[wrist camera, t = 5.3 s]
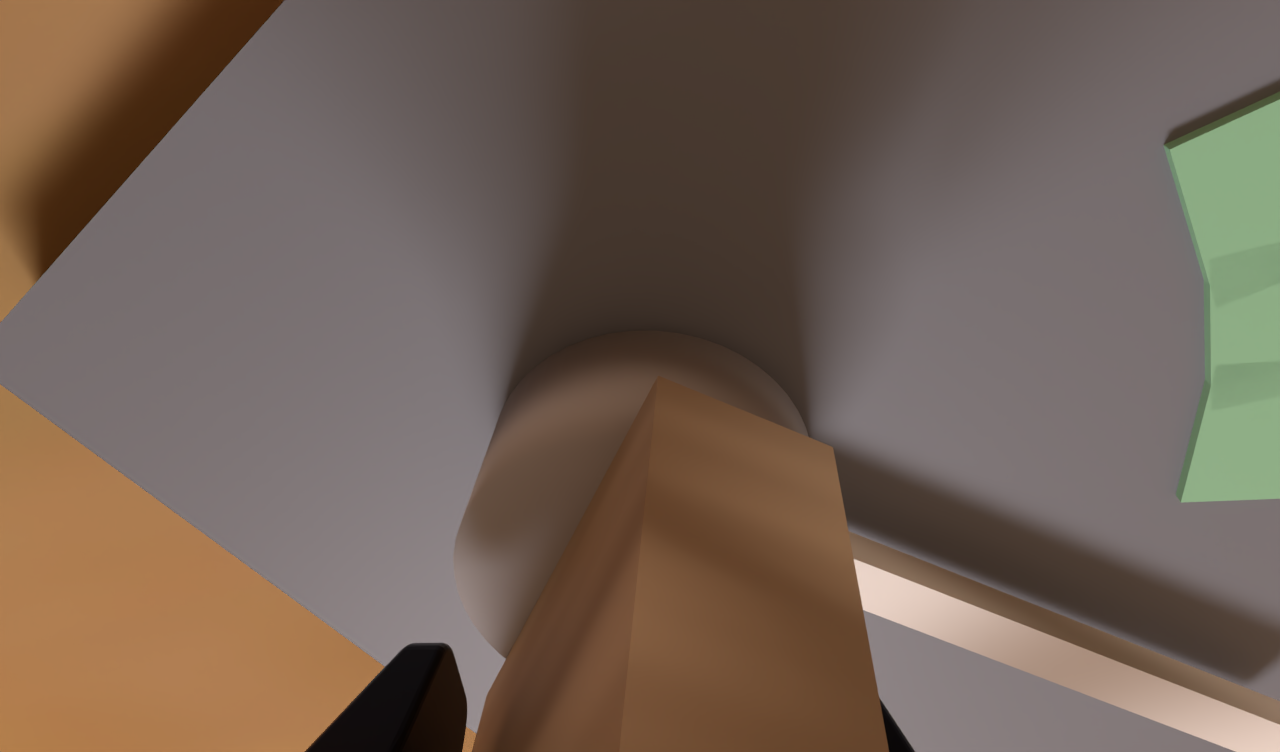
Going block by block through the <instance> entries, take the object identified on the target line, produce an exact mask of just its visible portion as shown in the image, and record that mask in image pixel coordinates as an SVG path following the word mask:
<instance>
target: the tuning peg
mask: <svg viewBox="0 0 1280 752" xmlns="http://www.w3.org/2000/svg"><path fill="white" fill-rule="evenodd" d="M453 563H454V577H455V581H456V586H457V591H458V593H459V596H460V599H461V601H462V604H463V606H464V609H465V610H466V612H467V614H468V616H469V617H470V619H471V621H472V623H473V624H474V626H475V627H476V628H477V630H478V631H479V632H480V633H481V635H482V636H483V637H484V639H485V640H486V641H487V642H488V643H489V644H490V645H491V646H492V647H493V648H494V649H495V650H496V651H497V652H498V653H499V654H500V655H502V656H503V657H504V658H505V659H506V660H505V662H504V664H503V666H502V668H501V670H500V671H499V673H498V675H497V677H496V679H495V681H494V683H493V684H492V686H491V688H490V690H489V692H488V694H487V696H486V700H485V704H484V707H483V711H482V715H481V719H480V723H479V727H478V730H477V734H476V738H475V742H474V746H473V750H472V752H889V748H888V743H887V737H886V732H885V726H884V721H883V715H882V710H881V705H880V699H879V694H878V688H877V683H876V678H875V672H874V667H873V661H872V656H871V650H870V645H869V640H868V634H867V629H866V623H865V618H864V613H863V610H865V611H867V612H870V613H872V614H875V615H878V616H880V617H883V618H886V619H888V620H891V621H893V622H896V623H899V624H901V625H904V626H907V627H909V628H912V629H915V630H917V631H920V632H922V633H925V634H928V635H930V636H933V637H936V638H938V639H941V640H943V641H946V642H949V643H951V644H954V645H957V646H959V647H962V648H964V649H967V650H970V651H972V652H975V653H978V654H980V655H983V656H986V657H988V658H991V659H993V660H996V661H999V662H1001V663H1004V664H1007V665H1009V666H1012V667H1014V668H1017V669H1020V670H1022V671H1025V672H1028V673H1030V674H1033V675H1036V676H1038V677H1041V678H1043V679H1046V680H1049V681H1051V682H1054V683H1057V684H1059V685H1062V686H1064V687H1067V688H1070V689H1072V690H1075V691H1078V692H1080V693H1083V694H1086V695H1088V696H1091V697H1093V698H1096V699H1099V700H1101V701H1104V702H1107V703H1109V704H1112V705H1114V706H1117V707H1120V708H1122V709H1125V710H1128V711H1130V712H1133V713H1135V714H1138V715H1141V716H1143V717H1146V718H1149V719H1151V720H1154V721H1157V722H1159V723H1162V724H1164V725H1167V726H1170V727H1172V728H1175V729H1178V730H1180V731H1183V732H1185V733H1188V734H1191V735H1193V736H1196V737H1199V738H1201V739H1204V740H1207V741H1209V742H1212V743H1214V744H1217V745H1220V746H1222V747H1225V748H1228V749H1230V750H1233V751H1235V752H1280V701H1278V700H1275V699H1273V698H1270V697H1268V696H1265V695H1263V694H1260V693H1258V692H1255V691H1253V690H1250V689H1248V688H1245V687H1243V686H1240V685H1237V684H1235V683H1232V682H1230V681H1227V680H1225V679H1222V678H1220V677H1217V676H1215V675H1212V674H1210V673H1207V672H1205V671H1202V670H1199V669H1197V668H1194V667H1192V666H1189V665H1187V664H1184V663H1182V662H1179V661H1177V660H1174V659H1172V658H1169V657H1167V656H1164V655H1161V654H1159V653H1156V652H1154V651H1151V650H1149V649H1146V648H1144V647H1141V646H1139V645H1136V644H1134V643H1131V642H1129V641H1126V640H1123V639H1121V638H1118V637H1116V636H1113V635H1111V634H1108V633H1106V632H1103V631H1101V630H1098V629H1096V628H1093V627H1091V626H1088V625H1085V624H1083V623H1080V622H1078V621H1075V620H1073V619H1070V618H1068V617H1065V616H1063V615H1060V614H1058V613H1055V612H1053V611H1050V610H1047V609H1045V608H1042V607H1040V606H1037V605H1035V604H1032V603H1030V602H1027V601H1025V600H1022V599H1020V598H1017V597H1014V596H1012V595H1009V594H1007V593H1004V592H1002V591H999V590H997V589H994V588H992V587H989V586H987V585H984V584H982V583H979V582H976V581H974V580H971V579H969V578H966V577H964V576H961V575H959V574H956V573H954V572H951V571H949V570H946V569H944V568H941V567H938V566H936V565H933V564H931V563H928V562H926V561H923V560H921V559H918V558H916V557H913V556H911V555H908V554H906V553H903V552H900V551H898V550H895V549H893V548H890V547H888V546H885V545H883V544H880V543H878V542H875V541H873V540H870V539H868V538H865V537H862V536H860V535H857V534H855V533H852V532H850V531H848V526H847V520H846V515H845V510H844V504H843V499H842V493H841V488H840V483H839V477H838V472H837V466H836V461H835V455H834V450H833V447H831V446H829V445H827V444H824V443H822V442H819V441H817V440H814V439H812V438H809V437H808V433H807V429H806V427H805V424H804V422H803V420H802V418H801V416H800V413H799V411H798V410H797V408H796V407H795V405H794V404H793V402H792V401H791V399H790V397H789V396H788V395H787V394H786V392H785V391H784V390H783V389H782V388H781V387H780V386H779V385H778V383H777V382H776V381H775V380H774V379H773V378H771V377H770V376H769V375H768V374H767V373H766V372H764V371H763V370H762V369H761V368H760V367H758V366H757V365H755V364H754V363H752V362H751V361H749V360H748V359H746V358H745V357H743V356H742V355H740V354H738V353H736V352H734V351H732V350H730V349H728V348H726V347H723V346H721V345H719V344H716V343H713V342H710V341H707V340H704V339H701V338H698V337H693V336H689V335H684V334H680V333H673V332H664V331H626V332H618V333H610V334H606V335H601V336H597V337H593V338H589V339H586V340H584V341H581V342H578V343H576V344H573V345H571V346H568V347H566V348H564V349H562V350H561V351H559V352H557V353H555V354H553V355H551V356H550V357H548V358H547V359H545V360H544V361H543V362H541V363H540V364H539V365H537V366H536V367H534V368H533V369H532V370H531V371H530V372H529V373H528V374H527V375H526V376H525V377H524V378H523V379H522V380H521V381H520V382H519V384H518V385H517V386H516V388H515V389H514V390H513V392H512V393H511V394H510V396H509V397H508V399H507V401H506V403H505V405H504V407H503V409H502V411H501V413H500V416H499V418H498V421H497V424H496V427H495V430H494V432H493V435H492V438H491V441H490V443H489V446H488V449H487V452H486V454H485V457H484V460H483V463H482V466H481V468H480V471H479V474H478V477H477V479H476V482H475V485H474V488H473V490H472V493H471V496H470V499H469V502H468V504H467V507H466V510H465V513H464V515H463V518H462V521H461V524H460V527H459V530H458V533H457V536H456V540H455V547H454V554H453Z"/></svg>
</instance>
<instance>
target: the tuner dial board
mask: <svg viewBox="0 0 1280 752" xmlns="http://www.w3.org/2000/svg"><path fill="white" fill-rule="evenodd" d="M626 331H664V332H673V333H680V334H684V335H689V336H693V337H698V338H701V339H704V340H707V341H710V342H713V343H716V344H719V345H721V346H723V347H726V348H728V349H730V350H732V351H734V352H736V353H738V354H740V355H742V356H743V357H745V358H746V359H748V360H749V361H751V362H752V363H754V364H755V365H757V366H758V367H760V368H761V369H762V370H763V371H764V372H766V373H767V374H768V375H769V376H770V377H771V378H773V379H774V380H775V381H776V382H777V383H778V385H779V386H780V387H781V388H782V389H783V390H784V391H785V392H786V394H787V395H788V396H789V397H790V399H791V401H792V402H793V404H794V405H795V407H796V408H797V410H798V411H799V413H800V416H801V418H802V420H803V422H804V424H805V427H806V429H807V433H808V437H809V438H812V439H814V440H817V441H819V442H822V443H824V444H827V445H829V446H831V447H833V450H834V455H835V461H836V466H837V472H838V477H839V483H840V488H841V493H842V499H843V504H844V510H845V515H846V520H847V526H848V531H850V532H852V533H855V534H857V535H860V536H862V537H865V538H868V539H870V540H873V541H875V542H878V543H880V544H883V545H885V546H888V547H890V548H893V549H895V550H898V551H900V552H903V553H906V554H908V555H911V556H913V557H916V558H918V559H921V560H923V561H926V562H928V563H931V564H933V565H936V566H938V567H941V568H944V569H946V570H949V571H951V572H954V573H956V574H959V575H961V576H964V577H966V578H969V579H971V580H974V581H976V582H979V583H982V584H984V585H987V586H989V587H992V588H994V589H997V590H999V591H1002V592H1004V593H1007V594H1009V595H1012V596H1014V597H1017V598H1020V599H1022V600H1025V601H1027V602H1030V603H1032V604H1035V605H1037V606H1040V607H1042V608H1045V609H1047V610H1050V611H1053V612H1055V613H1058V614H1060V615H1063V616H1065V617H1068V618H1070V619H1073V620H1075V621H1078V622H1080V623H1083V624H1085V625H1088V626H1091V627H1093V628H1096V629H1098V630H1101V631H1103V632H1106V633H1108V634H1111V635H1113V636H1116V637H1118V638H1121V639H1123V640H1126V641H1129V642H1131V643H1134V644H1136V645H1139V646H1141V647H1144V648H1146V649H1149V650H1151V651H1154V652H1156V653H1159V654H1161V655H1164V656H1167V657H1169V658H1172V659H1174V660H1177V661H1179V662H1182V663H1184V664H1187V665H1189V666H1192V667H1194V668H1197V669H1199V670H1202V671H1205V672H1207V673H1210V674H1212V675H1215V676H1217V677H1220V678H1222V679H1225V680H1227V681H1230V682H1232V683H1235V684H1237V685H1240V686H1243V687H1245V688H1248V689H1250V690H1253V691H1255V692H1258V693H1260V694H1263V695H1265V696H1268V697H1270V698H1273V699H1275V700H1278V701H1280V0H284V1H283V3H282V4H281V5H280V6H279V7H278V8H277V9H276V11H275V12H274V13H273V14H272V15H271V16H270V17H269V19H268V20H267V21H266V22H265V23H264V24H263V25H262V26H261V28H260V29H259V30H258V31H257V32H256V33H255V34H254V36H253V37H252V38H251V39H250V40H249V41H248V42H247V43H246V45H245V46H244V47H243V48H242V49H241V50H240V51H239V53H238V54H237V55H236V56H235V57H234V58H233V59H232V61H231V62H230V63H229V64H228V65H227V66H226V67H225V68H224V70H223V71H222V72H221V73H220V74H219V75H218V76H217V78H216V79H215V80H214V81H213V82H212V83H211V84H210V86H209V87H208V88H207V89H206V90H205V91H204V92H203V93H202V95H201V96H200V97H199V98H198V99H197V100H196V101H195V103H194V104H193V105H192V106H191V107H190V108H189V109H188V111H187V112H186V113H185V114H184V115H183V116H182V117H181V118H180V120H179V121H178V122H177V123H176V124H175V125H174V126H173V128H172V129H171V130H170V131H169V132H168V133H167V134H166V135H165V137H164V138H163V139H162V140H161V141H160V142H159V143H158V145H157V146H156V147H155V148H154V149H153V150H152V151H151V153H150V154H149V155H148V156H147V157H146V158H145V159H144V160H143V162H142V163H141V164H140V165H139V166H138V167H137V168H136V170H135V171H134V172H133V173H132V174H131V175H130V176H129V178H128V179H127V180H126V181H125V182H124V183H123V184H122V185H121V187H120V188H119V189H118V190H117V191H116V192H115V193H114V195H113V196H112V197H111V198H110V199H109V200H108V201H107V202H106V204H105V205H104V206H103V207H102V208H101V209H100V210H99V212H98V213H97V214H96V215H95V216H94V217H93V218H92V220H91V221H90V222H89V223H88V224H87V225H86V226H85V227H84V229H83V230H82V231H81V232H80V233H79V234H78V235H77V237H76V238H75V239H74V240H73V241H72V242H71V243H70V245H69V246H68V247H67V248H66V249H65V250H64V251H63V252H62V254H61V255H60V256H59V257H58V258H57V259H56V260H55V262H54V263H53V264H52V265H51V266H50V267H49V268H48V270H47V271H46V272H45V273H44V274H43V275H42V276H41V277H40V279H39V280H38V281H37V282H36V283H35V284H34V285H33V287H32V288H31V289H30V290H29V291H28V292H27V293H26V294H25V296H24V297H23V298H22V299H21V300H20V301H19V302H18V304H17V305H16V306H15V307H14V308H13V309H12V310H11V312H10V313H9V314H8V315H7V316H6V317H5V318H4V319H3V321H2V322H1V323H0V384H1V385H2V386H3V387H5V388H6V389H8V390H9V391H10V392H12V393H13V394H14V395H16V396H17V397H18V398H20V399H21V400H23V401H24V402H25V403H27V404H28V405H29V406H31V407H32V408H33V409H35V410H36V411H38V412H39V413H40V414H42V415H43V416H44V417H46V418H47V419H48V420H50V421H51V422H52V423H54V424H55V425H57V426H58V427H59V428H61V429H62V430H63V431H65V432H66V433H67V434H69V435H70V436H72V437H73V438H74V439H76V440H77V441H78V442H80V443H81V444H82V445H84V446H85V447H87V448H88V449H89V450H91V451H92V452H93V453H95V454H96V455H97V456H99V457H100V458H102V459H103V460H104V461H106V462H107V463H108V464H110V465H111V466H112V467H114V468H115V469H117V470H118V471H119V472H121V473H122V474H123V475H125V476H126V477H127V478H129V479H130V480H132V481H133V482H134V483H136V484H137V485H138V486H140V487H141V488H142V489H144V490H145V491H146V492H148V493H149V494H151V495H152V496H153V497H155V498H156V499H157V500H159V501H160V502H161V503H163V504H164V505H166V506H167V507H168V508H170V509H171V510H172V511H174V512H175V513H176V514H178V515H179V516H181V517H182V518H183V519H185V520H186V521H187V522H189V523H190V524H191V525H193V526H194V527H196V528H197V529H198V530H200V531H201V532H202V533H204V534H205V535H206V536H208V537H209V538H211V539H212V540H213V541H215V542H216V543H217V544H219V545H220V546H221V547H223V548H224V549H225V550H227V551H228V552H230V553H231V554H232V555H234V556H235V557H236V558H238V559H239V560H240V561H242V562H243V563H245V564H246V565H247V566H249V567H250V568H251V569H253V570H254V571H255V572H257V573H258V574H260V575H261V576H262V577H264V578H265V579H266V580H268V581H269V582H270V583H272V584H273V585H275V586H276V587H277V588H279V589H280V590H281V591H283V592H284V593H285V594H287V595H288V596H290V597H291V598H292V599H294V600H295V601H296V602H298V603H299V604H300V605H302V606H303V607H304V608H306V609H307V610H309V611H310V612H311V613H313V614H314V615H315V616H317V617H318V618H319V619H321V620H322V621H324V622H325V623H326V624H328V625H329V626H330V627H332V628H333V629H334V630H336V631H337V632H339V633H340V634H341V635H343V636H344V637H345V638H347V639H348V640H349V641H351V642H352V643H354V644H355V645H356V646H358V647H359V648H360V649H362V650H363V651H364V652H366V653H367V654H369V655H370V656H371V657H373V658H374V659H375V660H377V661H378V662H379V663H381V664H382V665H383V666H386V665H387V664H388V663H389V662H390V661H391V660H392V659H393V658H394V657H395V656H396V655H397V654H398V653H399V652H400V651H401V650H402V649H403V648H404V647H406V646H407V645H409V644H411V643H446V644H448V645H449V646H450V647H451V648H452V651H453V653H454V656H455V659H456V663H457V666H458V670H459V673H460V677H461V680H462V684H463V687H464V691H465V694H466V698H467V722H466V726H467V727H468V728H469V729H471V730H472V731H473V732H475V733H476V734H477V730H478V727H479V723H480V719H481V715H482V711H483V707H484V704H485V700H486V696H487V694H488V692H489V690H490V688H491V686H492V684H493V683H494V681H495V679H496V677H497V675H498V673H499V671H500V670H501V668H502V666H503V664H504V662H505V660H506V659H505V658H504V657H503V656H502V655H500V654H499V653H498V652H497V651H496V650H495V649H494V648H493V647H492V646H491V645H490V644H489V643H488V642H487V641H486V640H485V639H484V637H483V636H482V635H481V633H480V632H479V631H478V630H477V628H476V627H475V626H474V624H473V623H472V621H471V619H470V617H469V616H468V614H467V612H466V610H465V609H464V606H463V604H462V601H461V599H460V596H459V593H458V591H457V586H456V581H455V577H454V563H453V554H454V547H455V540H456V536H457V533H458V530H459V527H460V524H461V521H462V518H463V515H464V513H465V510H466V507H467V504H468V502H469V499H470V496H471V493H472V490H473V488H474V485H475V482H476V479H477V477H478V474H479V471H480V468H481V466H482V463H483V460H484V457H485V454H486V452H487V449H488V446H489V443H490V441H491V438H492V435H493V432H494V430H495V427H496V424H497V421H498V418H499V416H500V413H501V411H502V409H503V407H504V405H505V403H506V401H507V399H508V397H509V396H510V394H511V393H512V392H513V390H514V389H515V388H516V386H517V385H518V384H519V382H520V381H521V380H522V379H523V378H524V377H525V376H526V375H527V374H528V373H529V372H530V371H531V370H532V369H533V368H534V367H536V366H537V365H539V364H540V363H541V362H543V361H544V360H545V359H547V358H548V357H550V356H551V355H553V354H555V353H557V352H559V351H561V350H562V349H564V348H566V347H568V346H571V345H573V344H576V343H578V342H581V341H584V340H586V339H589V338H593V337H597V336H601V335H606V334H610V333H618V332H626ZM863 613H864V618H865V623H866V629H867V634H868V640H869V645H870V650H871V656H872V661H873V667H874V672H875V678H876V683H877V688H878V694H879V697H880V699H881V700H882V702H883V703H884V705H885V706H886V708H887V709H888V711H889V713H890V714H891V716H892V717H893V719H894V720H895V722H896V723H897V725H898V726H899V728H900V729H901V731H902V732H903V734H904V735H905V737H906V738H907V740H908V741H909V743H910V744H911V746H912V747H913V749H914V750H915V752H1235V751H1233V750H1230V749H1228V748H1225V747H1222V746H1220V745H1217V744H1214V743H1212V742H1209V741H1207V740H1204V739H1201V738H1199V737H1196V736H1193V735H1191V734H1188V733H1185V732H1183V731H1180V730H1178V729H1175V728H1172V727H1170V726H1167V725H1164V724H1162V723H1159V722H1157V721H1154V720H1151V719H1149V718H1146V717H1143V716H1141V715H1138V714H1135V713H1133V712H1130V711H1128V710H1125V709H1122V708H1120V707H1117V706H1114V705H1112V704H1109V703H1107V702H1104V701H1101V700H1099V699H1096V698H1093V697H1091V696H1088V695H1086V694H1083V693H1080V692H1078V691H1075V690H1072V689H1070V688H1067V687H1064V686H1062V685H1059V684H1057V683H1054V682H1051V681H1049V680H1046V679H1043V678H1041V677H1038V676H1036V675H1033V674H1030V673H1028V672H1025V671H1022V670H1020V669H1017V668H1014V667H1012V666H1009V665H1007V664H1004V663H1001V662H999V661H996V660H993V659H991V658H988V657H986V656H983V655H980V654H978V653H975V652H972V651H970V650H967V649H964V648H962V647H959V646H957V645H954V644H951V643H949V642H946V641H943V640H941V639H938V638H936V637H933V636H930V635H928V634H925V633H922V632H920V631H917V630H915V629H912V628H909V627H907V626H904V625H901V624H899V623H896V622H893V621H891V620H888V619H886V618H883V617H880V616H878V615H875V614H872V613H870V612H867V611H865V610H863Z"/></svg>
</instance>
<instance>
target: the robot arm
mask: <svg viewBox="0 0 1280 752" xmlns="http://www.w3.org/2000/svg"><path fill="white" fill-rule="evenodd" d="M879 699H880V697H879ZM880 705H881V710H882V715H883V721H884V726H885V732H886V737H887V743H888V748H889V752H915V750H914V749H913V747H912V746H911V744H910V743H909V741H908V740H907V738H906V737H905V735H904V734H903V732H902V731H901V729H900V728H899V726H898V725H897V723H896V722H895V720H894V719H893V717H892V716H891V714H890V713H889V711H888V709H887V708H886V706H885V705H884V703H883V702H882V700H881V699H880ZM466 722H467V698H466V694H465V691H464V687H463V684H462V680H461V677H460V673H459V670H458V666H457V663H456V659H455V656H454V653H453V651H452V648H451V647H450V646H449V645H448V644H446V643H411V644H409V645H407V646H406V647H404V648H403V649H402V650H401V651H400V652H399V653H398V654H397V655H396V656H395V657H394V658H393V659H392V660H391V661H390V662H389V663H388V664H387V665H386V666H385V668H384V669H383V670H382V671H381V672H380V673H379V674H378V675H377V676H376V677H375V678H374V679H373V680H372V681H371V682H370V683H369V684H368V685H367V687H366V688H365V689H364V690H363V691H362V692H361V693H360V694H359V695H358V696H357V697H356V698H355V699H354V700H353V701H352V702H351V703H350V704H349V706H348V707H347V708H346V709H345V710H344V711H343V712H342V713H341V714H340V715H339V716H338V717H337V718H336V719H335V720H334V721H333V722H332V723H331V725H330V726H329V727H328V728H327V729H326V730H325V731H324V732H323V733H322V734H321V735H320V736H319V737H318V738H317V739H316V740H315V741H314V742H313V744H312V745H311V746H310V747H309V748H308V749H307V750H306V751H305V752H462V749H463V742H464V736H465V729H466Z"/></svg>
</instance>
